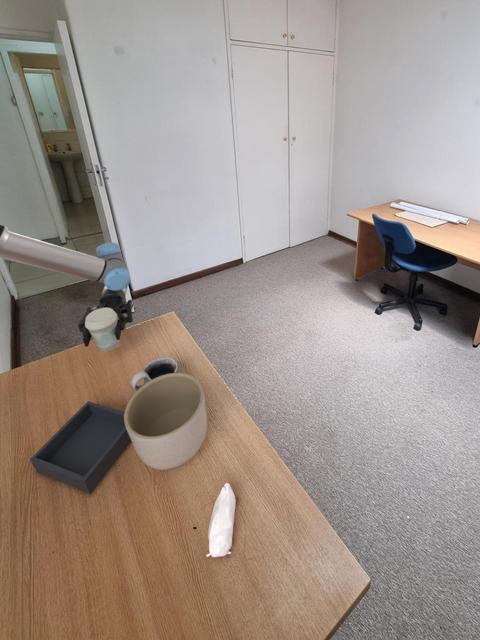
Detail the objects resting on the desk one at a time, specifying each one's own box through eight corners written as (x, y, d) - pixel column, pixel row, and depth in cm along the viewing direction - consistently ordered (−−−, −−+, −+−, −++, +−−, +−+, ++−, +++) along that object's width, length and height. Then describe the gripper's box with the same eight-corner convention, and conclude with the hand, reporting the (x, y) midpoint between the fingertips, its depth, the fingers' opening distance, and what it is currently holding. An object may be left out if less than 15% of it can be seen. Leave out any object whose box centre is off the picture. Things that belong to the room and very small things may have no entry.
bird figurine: (211, 509, 70) (204, 563, 60) (214, 482, 68) (208, 533, 59) (234, 508, 70) (231, 562, 61) (238, 482, 69) (235, 533, 60)
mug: (188, 381, 98) (182, 356, 93) (153, 415, 88) (145, 389, 83) (165, 369, 102) (159, 345, 98) (130, 400, 92) (121, 375, 88)
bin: (36, 472, 75) (29, 459, 73) (93, 412, 88) (88, 400, 86) (90, 494, 71) (84, 481, 69) (140, 428, 84) (136, 416, 82)
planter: (225, 435, 83) (218, 393, 76) (167, 498, 70) (154, 455, 64) (182, 401, 92) (173, 362, 85) (124, 452, 79) (108, 411, 72)
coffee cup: (87, 352, 100) (76, 321, 95) (108, 334, 108) (98, 304, 102) (111, 357, 98) (100, 326, 93) (130, 338, 106) (122, 308, 101)
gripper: (146, 299, 120) (141, 341, 101) (83, 311, 114) (65, 357, 95) (142, 282, 117) (136, 322, 97) (77, 293, 111) (57, 337, 91)
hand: (101, 339), depth 96 cm, fingers closed on coffee cup, 8 cm apart
